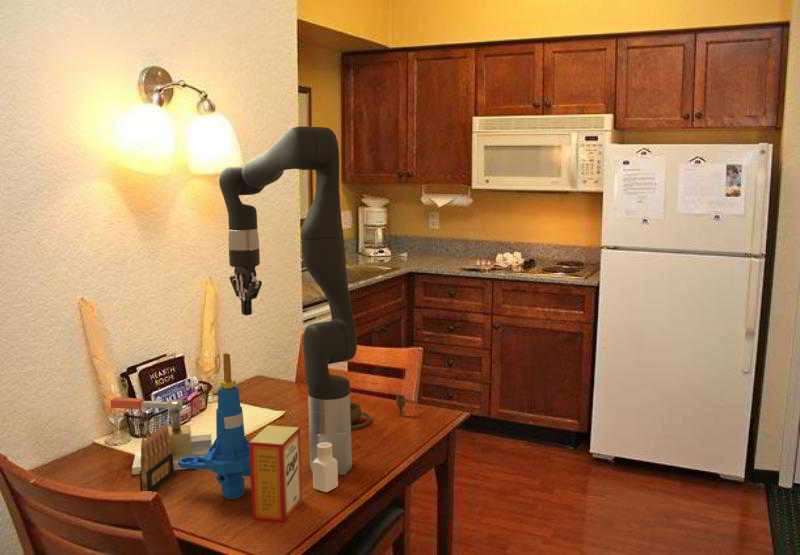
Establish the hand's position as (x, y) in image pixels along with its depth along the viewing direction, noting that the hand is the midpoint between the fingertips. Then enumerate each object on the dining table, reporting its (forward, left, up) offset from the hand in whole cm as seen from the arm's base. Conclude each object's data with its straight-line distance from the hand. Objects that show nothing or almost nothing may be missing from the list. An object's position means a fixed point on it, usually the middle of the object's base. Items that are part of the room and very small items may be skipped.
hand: (246, 314), depth 188 cm
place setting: (-5, -29, -30) cm, 42 cm away
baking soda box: (-50, -6, -29) cm, 58 cm away
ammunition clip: (-33, +19, -29) cm, 48 cm away
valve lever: (-20, +22, -16) cm, 34 cm away
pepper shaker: (-42, -16, -29) cm, 54 cm away
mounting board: (-22, +16, -29) cm, 40 cm away
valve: (-40, +6, -29) cm, 50 cm away
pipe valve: (-22, +16, -27) cm, 39 cm away
